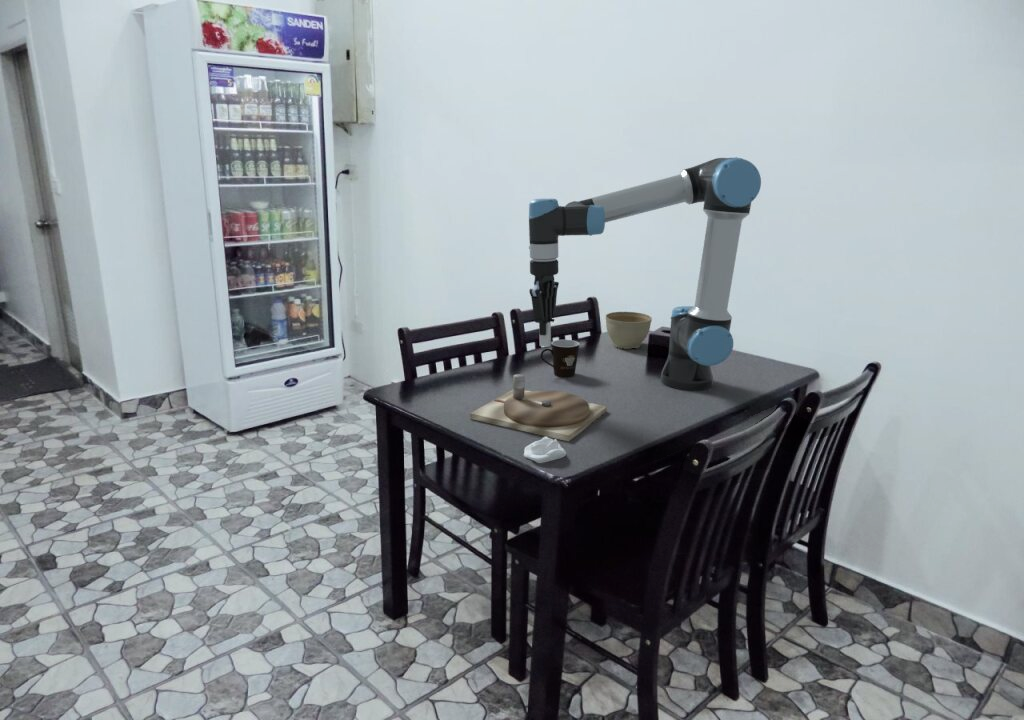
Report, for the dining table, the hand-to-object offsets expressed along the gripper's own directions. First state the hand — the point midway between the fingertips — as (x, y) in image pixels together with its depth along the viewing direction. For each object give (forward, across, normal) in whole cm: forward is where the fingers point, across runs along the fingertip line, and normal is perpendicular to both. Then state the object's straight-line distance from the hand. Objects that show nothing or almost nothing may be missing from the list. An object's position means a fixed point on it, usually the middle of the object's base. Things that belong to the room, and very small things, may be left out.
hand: (545, 345), depth 185 cm
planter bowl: (+17, -64, 0) cm, 66 cm away
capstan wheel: (+14, +13, +6) cm, 20 cm away
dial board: (+15, +13, +4) cm, 20 cm away
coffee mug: (+16, -22, -6) cm, 27 cm away
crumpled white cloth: (+16, +34, +17) cm, 41 cm away
